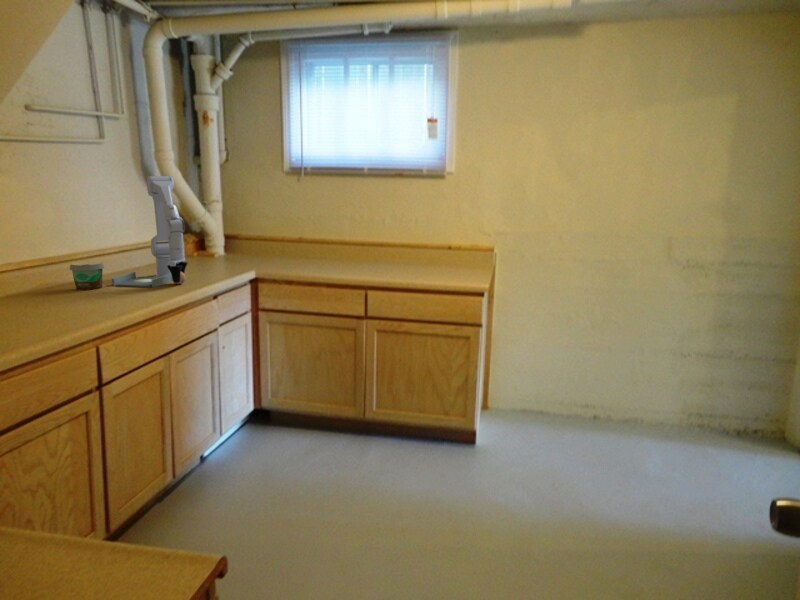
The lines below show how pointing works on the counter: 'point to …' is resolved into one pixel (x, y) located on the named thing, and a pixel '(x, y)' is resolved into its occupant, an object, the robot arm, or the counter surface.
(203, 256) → the counter surface
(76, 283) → the food container
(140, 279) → the mat
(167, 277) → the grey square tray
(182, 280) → the ball
